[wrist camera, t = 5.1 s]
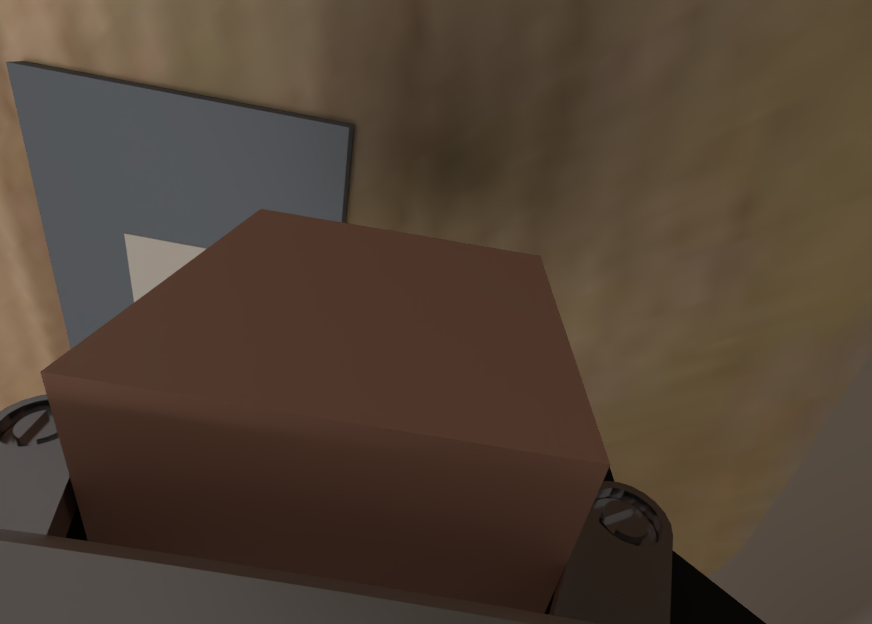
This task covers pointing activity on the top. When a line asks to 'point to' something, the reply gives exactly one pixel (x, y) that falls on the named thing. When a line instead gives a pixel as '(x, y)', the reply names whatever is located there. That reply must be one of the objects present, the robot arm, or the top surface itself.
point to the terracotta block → (339, 414)
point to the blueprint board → (159, 179)
